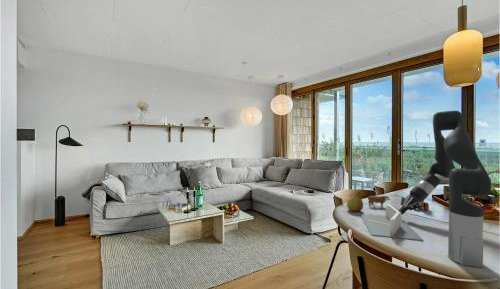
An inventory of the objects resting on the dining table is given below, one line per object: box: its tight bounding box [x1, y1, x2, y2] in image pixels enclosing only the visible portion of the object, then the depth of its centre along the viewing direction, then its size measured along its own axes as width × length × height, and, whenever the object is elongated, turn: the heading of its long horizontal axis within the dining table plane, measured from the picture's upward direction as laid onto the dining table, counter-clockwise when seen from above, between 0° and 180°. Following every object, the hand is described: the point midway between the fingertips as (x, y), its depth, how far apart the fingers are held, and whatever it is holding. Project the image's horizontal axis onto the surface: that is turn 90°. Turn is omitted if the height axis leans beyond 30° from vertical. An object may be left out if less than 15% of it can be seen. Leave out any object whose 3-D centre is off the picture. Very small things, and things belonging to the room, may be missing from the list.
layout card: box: [359, 213, 425, 242], centre depth 122 cm, size 32×20×1 cm, turn 164°
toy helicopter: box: [418, 200, 430, 211], centre depth 157 cm, size 8×21×14 cm, turn 159°
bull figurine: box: [367, 194, 391, 208], centre depth 157 cm, size 4×13×8 cm, turn 78°
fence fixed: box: [390, 212, 402, 236], centre depth 114 cm, size 16×2×8 cm, turn 139°
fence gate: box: [385, 203, 399, 219], centre depth 128 cm, size 14×2×7 cm, turn 169°
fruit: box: [346, 191, 364, 213], centre depth 148 cm, size 9×9×12 cm
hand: (399, 213), depth 131 cm, fingers closed
